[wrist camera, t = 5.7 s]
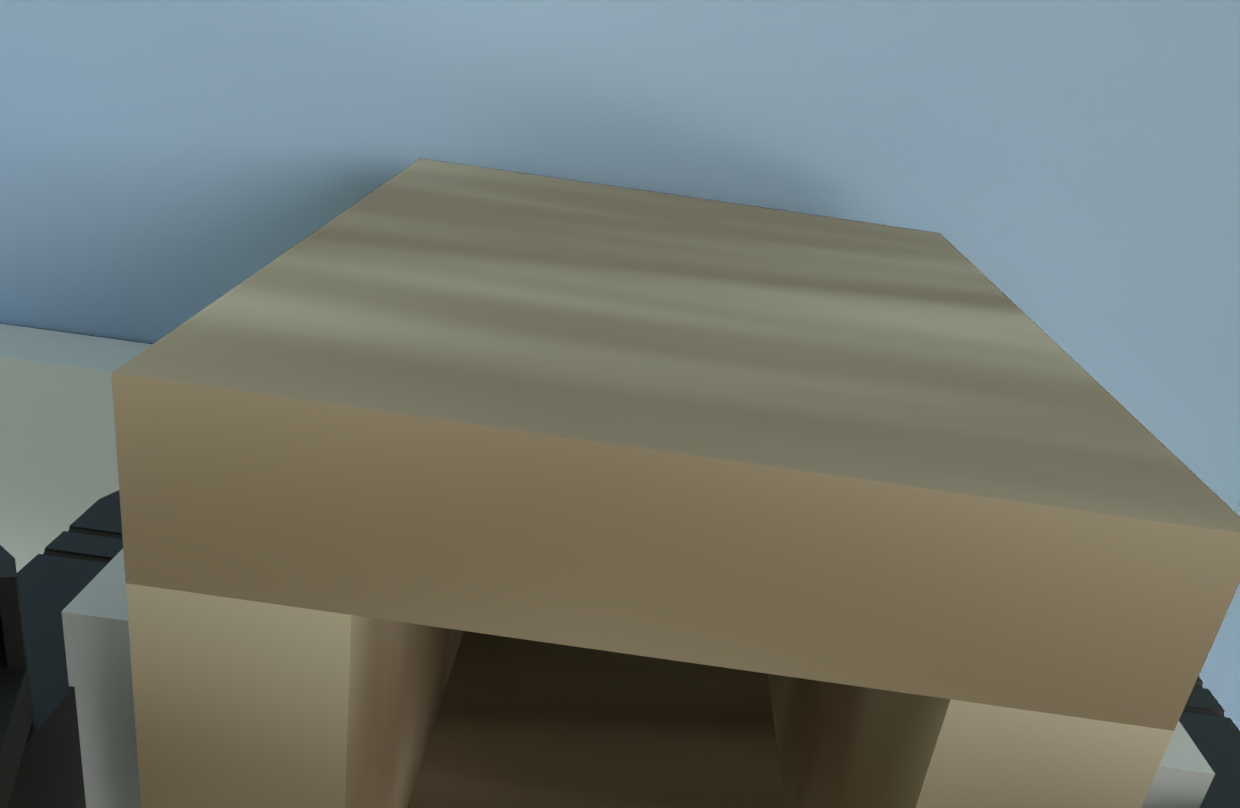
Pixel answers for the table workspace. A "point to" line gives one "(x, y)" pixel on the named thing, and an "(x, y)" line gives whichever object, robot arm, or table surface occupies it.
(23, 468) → the plate
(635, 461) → the wooden cubby shelf
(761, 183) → the table surface
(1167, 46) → the table surface
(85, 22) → the table surface
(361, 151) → the table surface
